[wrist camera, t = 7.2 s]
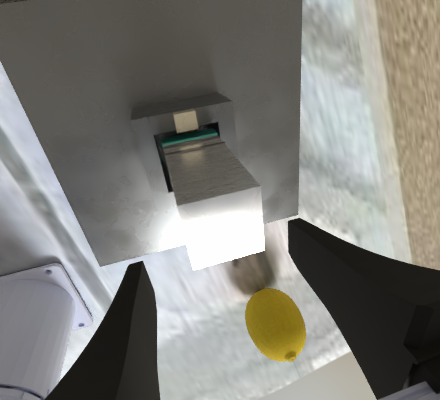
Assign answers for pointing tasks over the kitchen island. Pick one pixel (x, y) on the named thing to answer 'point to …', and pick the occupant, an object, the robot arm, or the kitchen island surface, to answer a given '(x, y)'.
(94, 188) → the stand base
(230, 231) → the post
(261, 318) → the lemon
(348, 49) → the kitchen island surface
